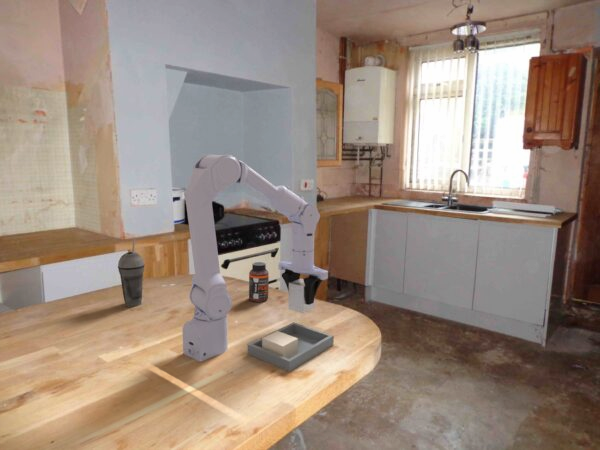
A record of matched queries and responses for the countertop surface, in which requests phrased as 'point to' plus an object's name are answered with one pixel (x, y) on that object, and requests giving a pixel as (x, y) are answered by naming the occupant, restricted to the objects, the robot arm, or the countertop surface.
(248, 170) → the robot arm
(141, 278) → the beverage cup
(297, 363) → the tote
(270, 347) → the cream bevelled block
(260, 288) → the supplement bottle
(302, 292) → the tin
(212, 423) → the countertop surface
